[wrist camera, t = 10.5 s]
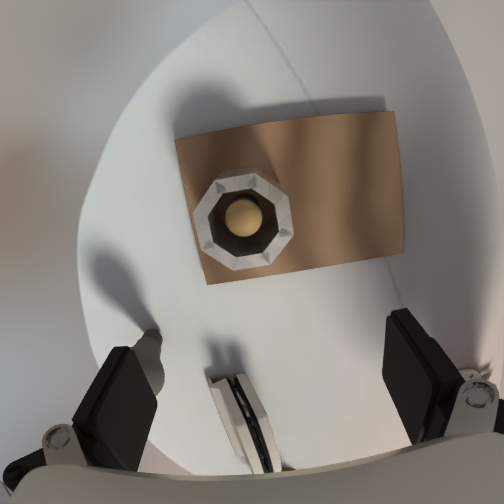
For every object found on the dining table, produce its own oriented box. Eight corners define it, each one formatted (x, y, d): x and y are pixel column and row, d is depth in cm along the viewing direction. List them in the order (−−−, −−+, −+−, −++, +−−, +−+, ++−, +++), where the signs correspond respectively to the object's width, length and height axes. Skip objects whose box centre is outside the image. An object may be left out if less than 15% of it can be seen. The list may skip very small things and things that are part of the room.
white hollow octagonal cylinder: (277, 162, 27) (283, 168, 21) (288, 236, 29) (297, 260, 23) (200, 175, 27) (186, 185, 21) (215, 247, 29) (206, 274, 24)
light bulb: (124, 319, 34) (91, 374, 25) (166, 309, 33) (140, 368, 24) (144, 356, 36) (120, 414, 26) (185, 349, 35) (167, 411, 26)
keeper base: (387, 111, 26) (423, 107, 19) (397, 247, 31) (430, 275, 24) (178, 140, 27) (156, 141, 21) (209, 278, 32) (198, 315, 25)
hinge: (205, 376, 37) (227, 432, 28) (241, 364, 38) (271, 417, 29) (233, 448, 42) (255, 496, 33) (261, 438, 44) (286, 484, 35)
